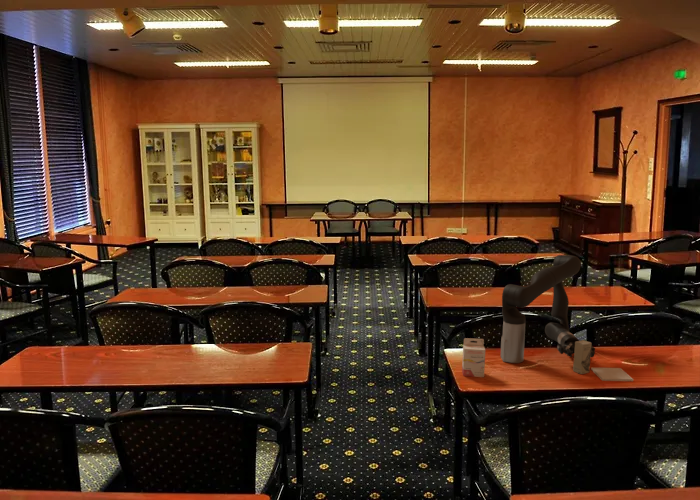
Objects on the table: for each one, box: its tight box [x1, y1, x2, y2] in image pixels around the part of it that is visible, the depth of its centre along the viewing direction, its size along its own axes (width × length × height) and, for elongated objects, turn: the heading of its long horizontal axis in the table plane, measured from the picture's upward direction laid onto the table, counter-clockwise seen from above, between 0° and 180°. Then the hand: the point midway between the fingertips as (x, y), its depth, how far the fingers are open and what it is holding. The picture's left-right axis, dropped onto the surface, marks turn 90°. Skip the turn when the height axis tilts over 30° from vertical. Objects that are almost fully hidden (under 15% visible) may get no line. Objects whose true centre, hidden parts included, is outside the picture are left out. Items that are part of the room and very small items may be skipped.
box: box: [572, 339, 593, 375], centre depth 228 cm, size 5×4×13 cm
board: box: [590, 367, 634, 382], centre depth 226 cm, size 12×12×1 cm
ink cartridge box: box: [461, 337, 486, 378], centre depth 226 cm, size 9×5×15 cm, turn 84°
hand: (581, 355), depth 229 cm, fingers open, 8 cm apart
